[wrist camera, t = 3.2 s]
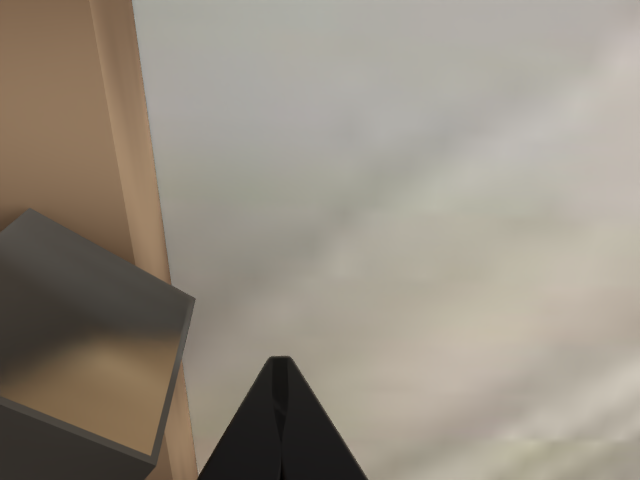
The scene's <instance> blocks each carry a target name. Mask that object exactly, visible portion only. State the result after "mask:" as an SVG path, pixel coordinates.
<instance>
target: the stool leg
mask: <svg viewBox="0 0 640 480" xmlns="http://www.w3.org/2000/svg"><path fill="white" fill-rule="evenodd" d="M194 303H195V298H193V297H192V296H190V295H188V294H186V293H184V292H182V291H181V290H179V289H177V288H175V287H173V286H171V285H170V284H168V283H166V282H164V281H162V280H161V279H159V278H157V277H155V276H153V275H151V274H150V273H148V272H146V271H144V270H142V269H141V268H139V267H137V266H135V265H133V264H131V263H130V262H128V261H126V260H124V259H122V258H121V257H119V256H117V255H115V254H113V253H111V252H110V251H108V250H106V249H104V248H102V247H101V246H99V245H97V244H95V243H93V242H91V241H90V240H88V239H86V238H84V237H82V236H80V235H79V234H77V233H75V232H73V231H71V230H70V229H68V228H66V227H64V226H62V225H60V224H59V223H57V222H55V221H53V220H51V219H50V218H48V217H46V216H44V215H42V214H40V213H39V212H37V211H35V210H33V209H31V208H29V209H27V210H26V211H25V212H24V213H23V214H22V215H20V216H19V217H18V218H17V219H16V220H14V221H13V222H12V223H11V224H10V225H8V226H7V227H6V228H5V229H4V230H3V231H1V232H0V480H145V478H146V477H147V476H148V475H149V474H150V473H151V472H152V470H153V469H154V468H155V467H156V465H157V461H158V457H159V453H160V448H161V444H162V440H163V436H164V431H165V427H166V423H167V419H168V414H169V410H170V406H171V402H172V397H173V393H174V389H175V384H176V380H177V376H178V372H179V367H180V363H181V359H182V355H183V350H184V346H185V342H186V338H187V333H188V329H189V325H190V321H191V316H192V312H193V308H194Z"/></svg>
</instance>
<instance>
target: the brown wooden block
mask: <svg viewBox="0 0 640 480" xmlns="http://www.w3.org/2000/svg"><path fill="white" fill-rule="evenodd" d="M29 208H31V209H33V210H35V211H37V212H39V213H40V214H42V215H44V216H46V217H48V218H50V219H51V220H53V221H55V222H57V223H59V224H60V225H62V226H64V227H66V228H68V229H70V230H71V231H73V232H75V233H77V234H79V235H80V236H82V237H84V238H86V239H88V240H90V241H91V242H93V243H95V244H97V245H99V246H101V247H102V248H104V249H106V250H108V251H110V252H111V253H113V254H115V255H117V256H119V257H121V258H122V259H124V260H126V261H128V262H130V263H131V264H133V265H135V266H137V267H139V268H141V269H142V270H144V271H146V272H148V273H150V274H151V275H153V276H155V277H157V278H159V279H161V280H162V281H164V282H166V283H168V284H170V285H171V279H170V272H169V264H168V257H167V250H166V243H165V236H164V229H163V221H162V214H161V207H160V200H159V193H158V186H157V178H156V171H155V164H154V157H153V150H152V143H151V135H150V128H149V121H148V114H147V107H146V100H145V92H144V85H143V78H142V71H141V64H140V57H139V49H138V42H137V35H136V28H135V21H134V14H133V6H132V0H0V232H1V231H3V230H4V229H5V228H6V227H7V226H8V225H10V224H11V223H12V222H13V221H14V220H16V219H17V218H18V217H19V216H20V215H22V214H23V213H24V212H25V211H26V210H27V209H29ZM197 478H198V472H197V465H196V458H195V451H194V443H193V436H192V429H191V422H190V415H189V408H188V401H187V393H186V386H185V379H184V372H183V365H182V359H181V363H180V367H179V372H178V376H177V380H176V384H175V389H174V393H173V397H172V402H171V406H170V410H169V414H168V419H167V423H166V427H165V431H164V436H163V440H162V444H161V448H160V453H159V457H158V461H157V465H156V467H155V468H154V469H153V470H152V472H151V473H150V474H149V475H148V476H147V477H146V478H145V480H197Z"/></svg>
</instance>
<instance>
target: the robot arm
mask: <svg viewBox="0 0 640 480" xmlns="http://www.w3.org/2000/svg"><path fill="white" fill-rule="evenodd" d="M197 480H368V478H367V477H366V475H365V474H364V472H363V470H362V469H361V467H360V466H359V464H358V462H357V461H356V459H355V458H354V456H353V454H352V453H351V451H350V450H349V448H348V447H347V445H346V443H345V442H344V440H343V439H342V437H341V435H340V434H339V432H338V431H337V429H336V427H335V426H334V424H333V423H332V421H331V419H330V418H329V416H328V415H327V413H326V411H325V410H324V408H323V407H322V405H321V404H320V402H319V400H318V399H317V397H316V396H315V394H314V392H313V391H312V389H311V388H310V386H309V384H308V383H307V381H306V380H305V378H304V376H303V375H302V373H301V372H300V370H299V368H298V367H297V365H296V364H295V362H294V361H293V359H292V358H291V357H290V356H271V357H269V358H268V360H267V361H266V363H265V364H264V366H263V368H262V370H261V371H260V373H259V375H258V376H257V378H256V380H255V381H254V383H253V385H252V387H251V388H250V390H249V392H248V393H247V395H246V397H245V398H244V400H243V402H242V403H241V405H240V407H239V409H238V410H237V412H236V414H235V415H234V417H233V419H232V420H231V422H230V424H229V426H228V427H227V429H226V431H225V432H224V434H223V436H222V437H221V439H220V441H219V442H218V444H217V446H216V448H215V449H214V451H213V453H212V454H211V456H210V458H209V459H208V461H207V463H206V465H205V466H204V468H203V470H202V471H201V473H200V475H199V476H198V478H197Z"/></svg>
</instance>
